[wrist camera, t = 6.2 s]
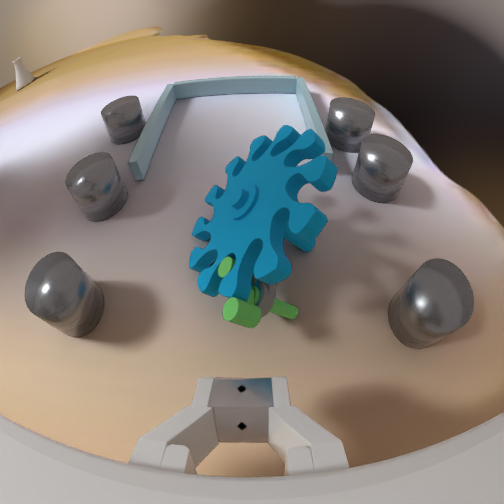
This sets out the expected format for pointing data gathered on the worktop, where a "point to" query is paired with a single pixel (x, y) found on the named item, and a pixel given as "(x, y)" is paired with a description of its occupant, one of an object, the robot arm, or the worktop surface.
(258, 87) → the light blue u-shaped piece
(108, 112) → the spacers
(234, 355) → the worktop surface
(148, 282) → the worktop surface
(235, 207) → the gear
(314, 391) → the worktop surface
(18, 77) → the flask
